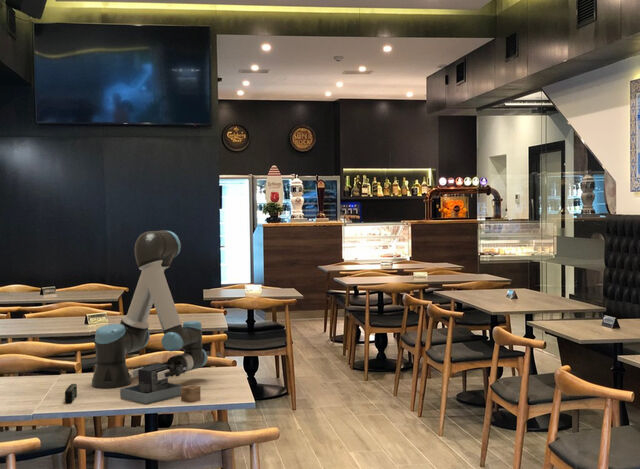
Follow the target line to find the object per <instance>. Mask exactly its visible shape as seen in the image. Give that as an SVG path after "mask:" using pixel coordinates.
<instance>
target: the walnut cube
mask: <svg viewBox="0 0 640 469" xmlns="http://www.w3.org/2000/svg"><path fill="white" fill-rule="evenodd" d="M201 395H202V394H201V385H195V384H194V385H193V384H188V385H183V387H181V396H180V401H181V402H184V403H194V402H198V401H201V400H200V399H201V398H202V397H201Z"/></svg>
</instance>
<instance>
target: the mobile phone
mask: <svg viewBox="0 0 640 469" xmlns="http://www.w3.org/2000/svg"><path fill="white" fill-rule="evenodd" d="M77 395H78V385H77V383H71V384H70V385H69V386H67V388H66V389H65V392H64V403H65V402H66V403H65V404H72V403H73V402H74V400H75V399H76V398H77ZM74 398H75V399H74ZM72 401H73V402H72ZM71 402H72V403H71Z"/></svg>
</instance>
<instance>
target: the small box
mask: <svg viewBox="0 0 640 469" xmlns="http://www.w3.org/2000/svg"><path fill="white" fill-rule="evenodd" d="M153 364H154V363H153ZM137 369H138V368H137ZM165 370H168V368H167V365H160V364H154V365H151V366H148V367H145V368H141V369H138V377H137V378H138V385H139V392H140V393H145V394H148V393H152V392H156V391H161V390H165V389H168V383H169V377H168V378H165V379H162V380H158V375H157V373H159V372H162V371H165Z"/></svg>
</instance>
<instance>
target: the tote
mask: <svg viewBox="0 0 640 469" xmlns="http://www.w3.org/2000/svg"><path fill="white" fill-rule="evenodd" d="M181 387H184V385H182V384H178V383H172V382H168V389H165V390H161V391H156V392H152V393H148V394H145V393H140V392H139V384H136V385H131V386H127V387H126V386H125V387H123V388H122V387H121V388H120V389H119V390H120V391H119V393H120V400H125V401H131V402H134V403H139V404H142V405H150V404H153V403H158V402H162V401H165V400H171V399H173V398H177V397H181Z"/></svg>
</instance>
